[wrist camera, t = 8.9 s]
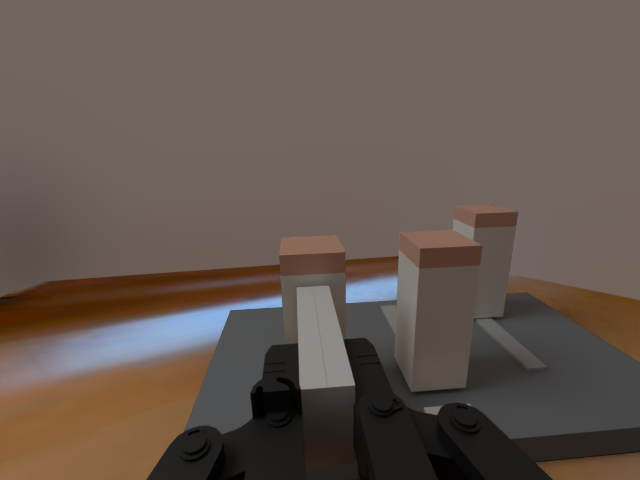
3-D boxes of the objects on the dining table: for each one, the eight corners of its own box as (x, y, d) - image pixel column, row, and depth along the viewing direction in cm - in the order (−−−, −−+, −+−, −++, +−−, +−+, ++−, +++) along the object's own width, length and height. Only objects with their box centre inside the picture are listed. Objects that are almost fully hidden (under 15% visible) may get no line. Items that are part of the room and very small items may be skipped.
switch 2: (480, 298, 27) (492, 204, 25) (502, 316, 24) (518, 211, 22) (446, 300, 27) (454, 205, 25) (464, 318, 24) (476, 213, 22)
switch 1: (441, 353, 20) (452, 229, 18) (465, 387, 17) (482, 245, 15) (394, 356, 20) (399, 232, 18) (411, 391, 17) (420, 248, 15)
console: (524, 307, 29) (527, 290, 29) (720, 443, 16) (731, 415, 15) (232, 326, 28) (230, 308, 27) (174, 497, 14) (168, 467, 14)
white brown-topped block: (338, 360, 20) (336, 235, 18) (345, 397, 17) (345, 252, 15) (289, 364, 20) (281, 237, 17) (288, 401, 17) (279, 255, 15)
